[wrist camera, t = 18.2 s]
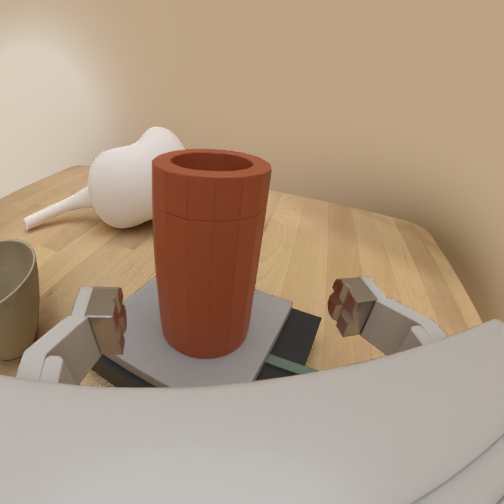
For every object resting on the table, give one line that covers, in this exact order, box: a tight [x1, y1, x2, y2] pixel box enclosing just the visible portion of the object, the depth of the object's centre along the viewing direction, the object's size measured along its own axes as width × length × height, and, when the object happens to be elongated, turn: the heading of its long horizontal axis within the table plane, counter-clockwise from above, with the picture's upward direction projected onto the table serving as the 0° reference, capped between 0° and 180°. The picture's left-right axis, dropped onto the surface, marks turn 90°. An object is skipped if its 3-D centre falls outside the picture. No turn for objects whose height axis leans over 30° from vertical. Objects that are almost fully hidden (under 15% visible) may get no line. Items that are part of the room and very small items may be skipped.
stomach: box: [23, 127, 185, 230], centre depth 37 cm, size 23×13×24 cm
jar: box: [152, 149, 271, 359], centre depth 17 cm, size 6×6×11 cm
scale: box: [91, 276, 321, 388], centre depth 20 cm, size 12×16×4 cm
